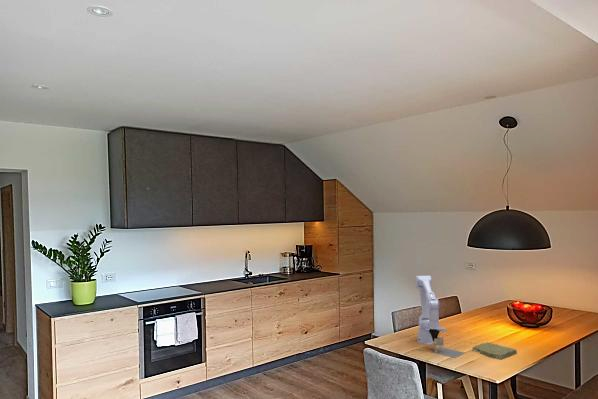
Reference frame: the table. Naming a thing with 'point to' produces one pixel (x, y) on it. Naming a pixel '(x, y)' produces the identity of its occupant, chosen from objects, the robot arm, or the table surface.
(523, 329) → the table surface
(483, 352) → the decorative tile
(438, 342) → the slab
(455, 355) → the mat
